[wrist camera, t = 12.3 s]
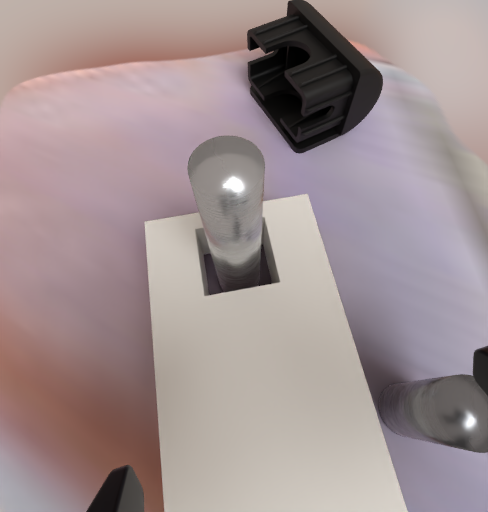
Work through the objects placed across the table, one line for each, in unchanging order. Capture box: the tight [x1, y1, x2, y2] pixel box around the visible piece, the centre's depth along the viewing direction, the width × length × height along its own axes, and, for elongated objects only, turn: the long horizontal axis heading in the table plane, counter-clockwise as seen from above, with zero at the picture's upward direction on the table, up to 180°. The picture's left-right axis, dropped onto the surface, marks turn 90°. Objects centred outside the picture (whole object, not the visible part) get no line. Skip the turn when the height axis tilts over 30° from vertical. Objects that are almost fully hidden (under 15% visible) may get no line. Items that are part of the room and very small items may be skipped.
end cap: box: [247, 0, 383, 153], centre depth 28 cm, size 10×7×7 cm
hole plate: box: [145, 194, 408, 512], centre depth 20 cm, size 18×11×4 cm, turn 10°
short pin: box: [379, 375, 488, 453], centre depth 17 cm, size 3×3×7 cm
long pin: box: [188, 136, 265, 292], centre depth 19 cm, size 3×3×12 cm
